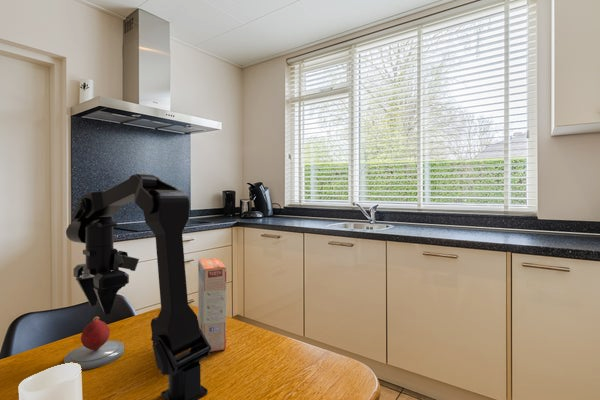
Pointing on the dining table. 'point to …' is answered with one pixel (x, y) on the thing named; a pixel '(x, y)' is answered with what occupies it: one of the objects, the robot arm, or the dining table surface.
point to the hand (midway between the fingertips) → (100, 309)
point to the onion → (95, 334)
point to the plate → (95, 355)
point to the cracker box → (212, 302)
